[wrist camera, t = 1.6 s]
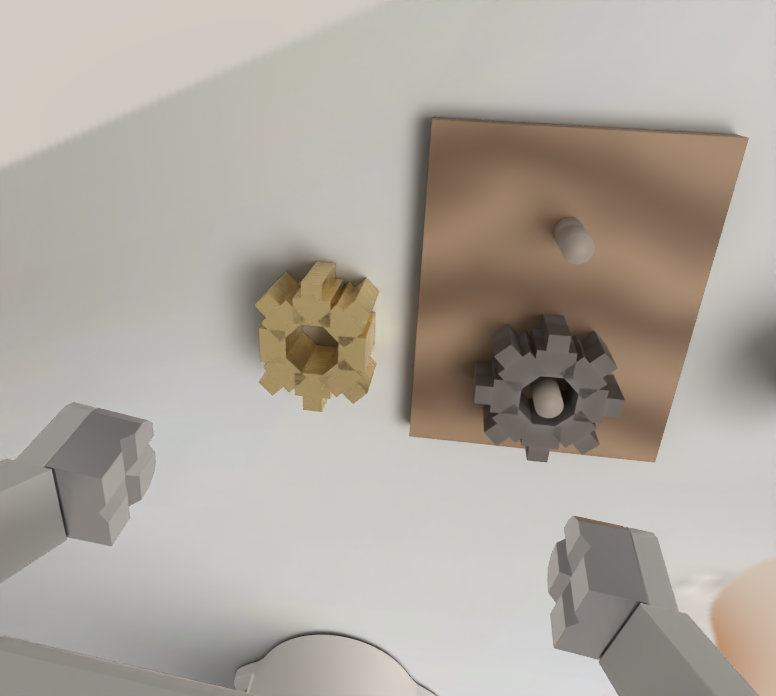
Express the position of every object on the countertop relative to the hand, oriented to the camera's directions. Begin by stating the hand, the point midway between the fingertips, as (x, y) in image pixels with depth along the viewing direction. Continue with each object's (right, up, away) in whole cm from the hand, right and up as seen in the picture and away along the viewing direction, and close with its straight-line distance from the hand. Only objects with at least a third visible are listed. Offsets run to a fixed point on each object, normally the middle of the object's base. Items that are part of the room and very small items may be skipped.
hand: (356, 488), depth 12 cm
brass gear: (-3, +4, +28) cm, 28 cm away
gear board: (+11, +6, +25) cm, 28 cm away
